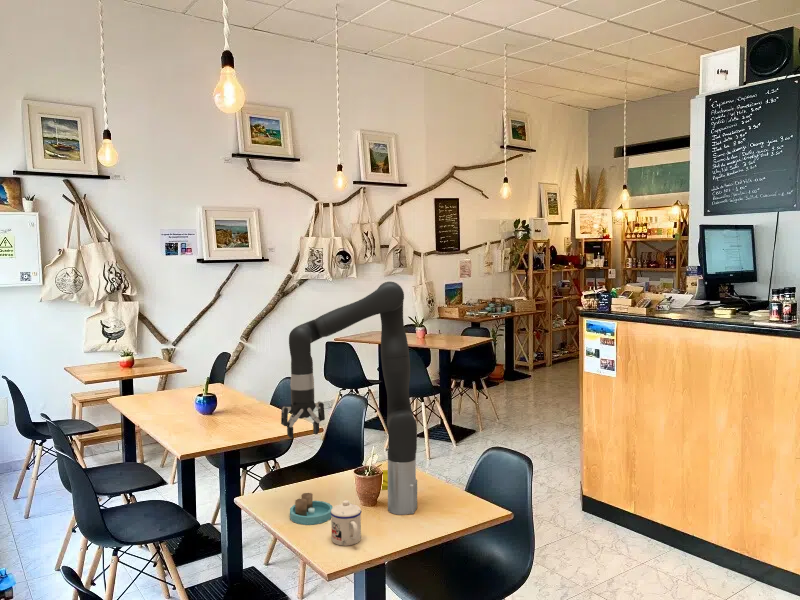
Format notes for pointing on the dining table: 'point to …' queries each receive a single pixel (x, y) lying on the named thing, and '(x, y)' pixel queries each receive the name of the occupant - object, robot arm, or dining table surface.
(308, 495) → the walnut bead
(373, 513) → the dining table surface
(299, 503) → the walnut bead
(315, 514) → the groove tray
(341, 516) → the teacup with lid
